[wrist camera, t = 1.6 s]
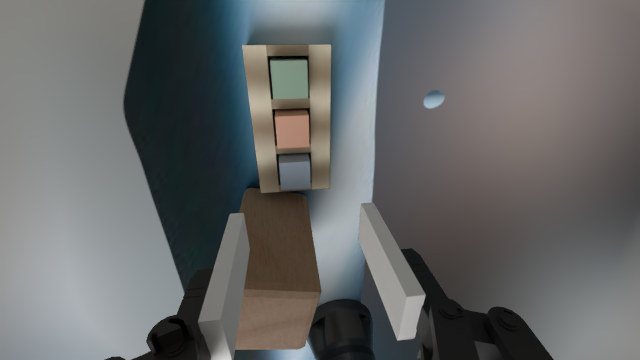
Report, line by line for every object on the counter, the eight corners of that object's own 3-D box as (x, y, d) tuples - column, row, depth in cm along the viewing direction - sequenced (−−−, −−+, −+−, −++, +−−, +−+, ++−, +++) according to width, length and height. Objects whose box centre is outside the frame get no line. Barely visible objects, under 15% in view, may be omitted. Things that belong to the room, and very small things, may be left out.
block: (245, 184, 42) (218, 288, 24) (307, 192, 44) (324, 292, 26) (240, 234, 46) (214, 354, 28) (296, 239, 48) (305, 353, 30)
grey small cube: (308, 175, 40) (310, 188, 36) (281, 176, 39) (281, 190, 36) (307, 150, 38) (309, 161, 34) (279, 151, 38) (278, 163, 34)
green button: (305, 92, 34) (308, 98, 31) (274, 93, 34) (273, 99, 30) (304, 58, 32) (307, 60, 29) (271, 58, 32) (270, 61, 28)
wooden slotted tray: (325, 176, 43) (329, 188, 39) (262, 180, 42) (261, 193, 38) (325, 44, 34) (331, 44, 30) (246, 44, 33) (242, 45, 29)
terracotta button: (306, 136, 37) (309, 146, 34) (277, 138, 37) (277, 148, 33) (305, 108, 35) (308, 115, 32) (275, 109, 35) (274, 116, 31)
